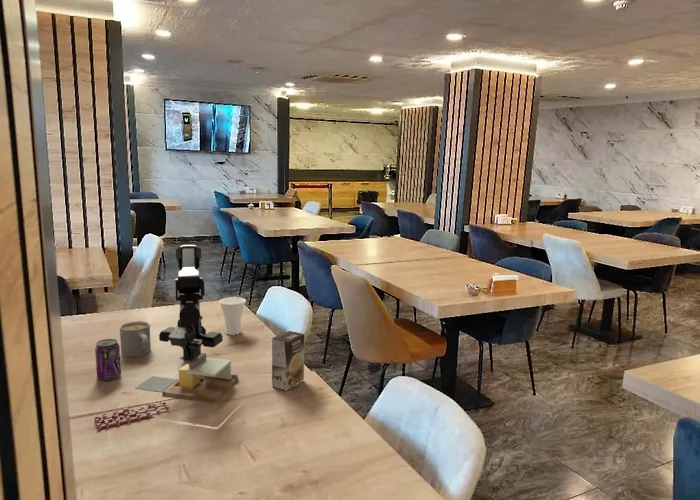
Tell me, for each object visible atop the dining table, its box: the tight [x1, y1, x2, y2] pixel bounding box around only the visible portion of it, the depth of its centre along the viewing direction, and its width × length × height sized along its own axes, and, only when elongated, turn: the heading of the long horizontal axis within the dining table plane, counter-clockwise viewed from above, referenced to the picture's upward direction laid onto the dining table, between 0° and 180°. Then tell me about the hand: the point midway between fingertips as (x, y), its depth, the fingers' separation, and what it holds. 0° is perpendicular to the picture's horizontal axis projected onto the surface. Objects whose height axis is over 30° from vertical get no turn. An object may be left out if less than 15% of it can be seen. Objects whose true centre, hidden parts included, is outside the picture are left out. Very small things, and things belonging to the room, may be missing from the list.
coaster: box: [134, 375, 178, 393], centre depth 163 cm, size 9×9×1 cm
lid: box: [187, 352, 232, 379], centre depth 160 cm, size 11×9×8 cm
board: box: [161, 373, 239, 403], centre depth 161 cm, size 16×17×2 cm
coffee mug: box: [119, 320, 152, 358], centre depth 187 cm, size 13×10×10 cm
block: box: [178, 363, 200, 389], centre depth 162 cm, size 4×4×6 cm
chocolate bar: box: [94, 400, 171, 432], centre depth 144 cm, size 7×19×2 cm, turn 123°
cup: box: [218, 296, 247, 336], centre depth 210 cm, size 10×10×14 cm
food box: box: [271, 330, 306, 390], centre depth 165 cm, size 9×6×16 cm
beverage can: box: [94, 338, 122, 381], centre depth 167 cm, size 7×7×12 cm
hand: (191, 363), depth 161 cm, fingers closed
